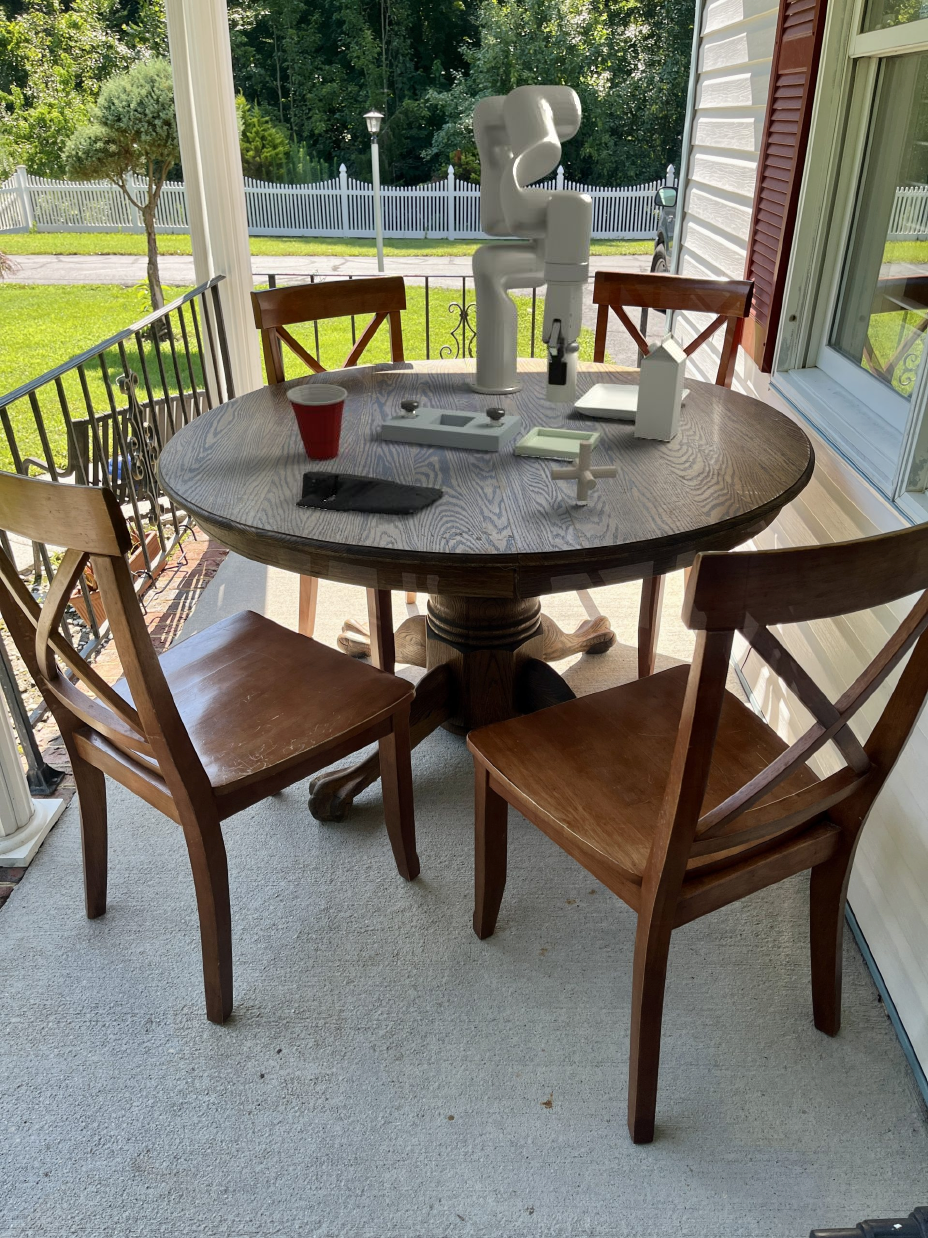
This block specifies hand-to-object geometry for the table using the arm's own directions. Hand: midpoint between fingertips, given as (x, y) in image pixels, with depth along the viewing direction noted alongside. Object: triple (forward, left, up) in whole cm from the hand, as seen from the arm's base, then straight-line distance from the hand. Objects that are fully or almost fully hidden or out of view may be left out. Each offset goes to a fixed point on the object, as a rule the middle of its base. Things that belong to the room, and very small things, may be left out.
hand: (561, 379), depth 153 cm
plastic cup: (+18, -40, -13) cm, 46 cm away
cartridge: (0, 0, -3) cm, 3 cm away
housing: (-2, -22, -13) cm, 26 cm away
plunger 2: (-2, -13, -13) cm, 18 cm away
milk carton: (-15, +16, -13) cm, 25 cm away
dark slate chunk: (+36, -22, -14) cm, 44 cm away
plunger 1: (-2, -31, -13) cm, 34 cm away
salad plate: (-32, +8, -13) cm, 35 cm away
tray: (0, 0, -13) cm, 13 cm away
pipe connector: (+26, +11, -13) cm, 31 cm away
